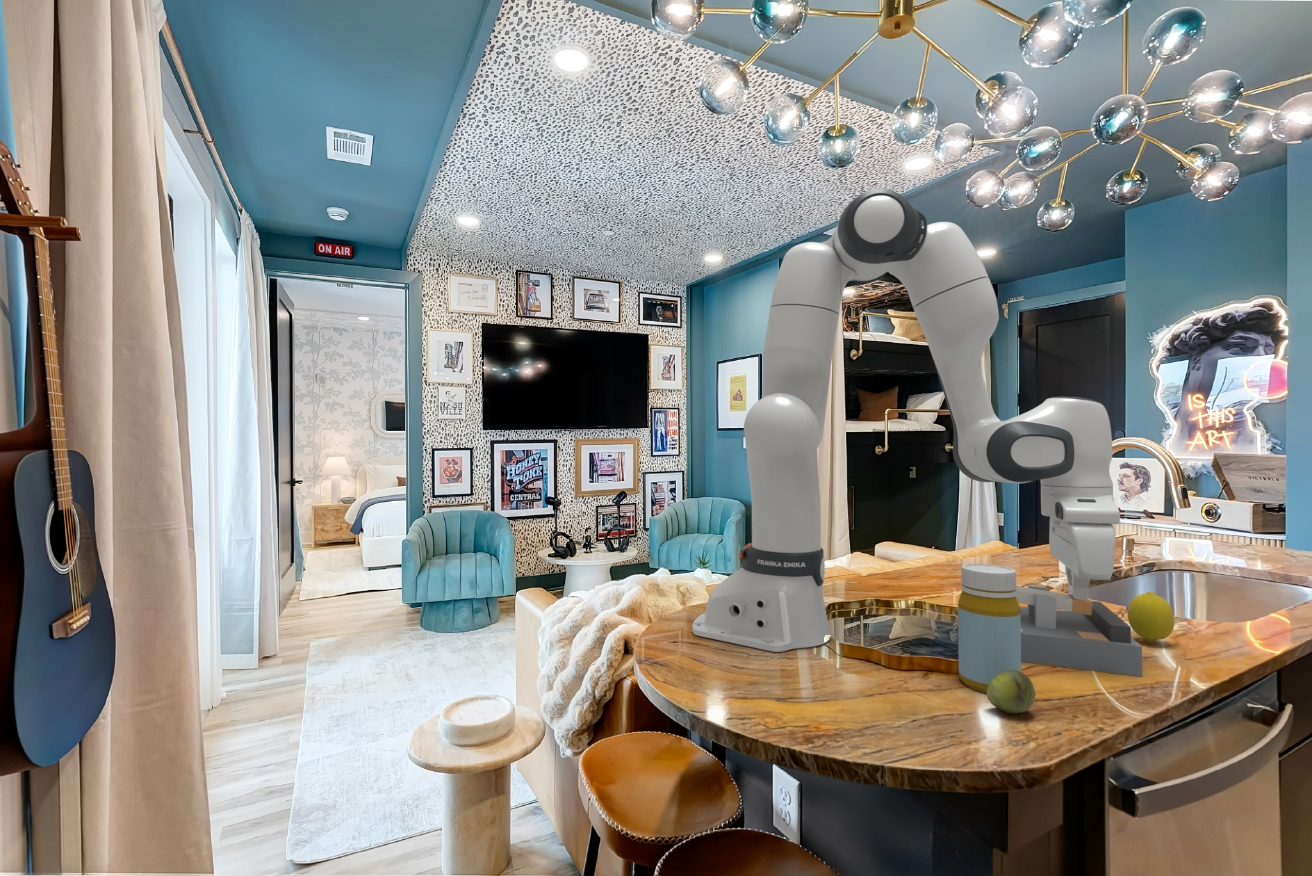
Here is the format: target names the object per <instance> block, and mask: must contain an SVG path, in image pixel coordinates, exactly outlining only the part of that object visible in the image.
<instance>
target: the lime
mask: <svg viewBox="0 0 1312 876" xmlns="http://www.w3.org/2000/svg"><path fill="white" fill-rule="evenodd" d="M985 694H986V696H987V700H988V701H989V703H990V704H992V706H994V707H995V708H997V709H999V710H1000V711H1002V712H1005V713H1007V714H1013V715H1014V714H1018V713H1019V714H1020V713H1026V712H1027V711H1028V710H1030V709H1031V708H1032V707H1033V705H1034V702H1035V699H1036V690H1035V688H1034V684H1033V682H1032V681H1031V678H1030V677H1029V676H1028V675H1027V674H1025V673H1023V672H1022V671H1021V672H1020V671H1017V670H1008V671H1003V672H1001V673H1000V674H998V675H997V676H995V677H994V678H993V679H992V680H991V681H990V683H989V685H988V687H987V690H986V693H985Z"/></svg>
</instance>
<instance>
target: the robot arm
mask: <svg viewBox="0 0 1312 876" xmlns="http://www.w3.org/2000/svg"><path fill="white" fill-rule="evenodd" d="M838 220H839V221H838V223H837V225H836V228H835V230H834V231H833V234H832V236H831V237H830V238H829V239H827V240H824V241H820V242H815V241H806V242H803V243H799V244H797V245H794V246H792V247H791V248H789V249H788V251H786V253H785V255H784V257H783V259H782V262H781V264H780V267H779V270H778V273H777V276H776V280H775V283H774V288H773V291H772V292H773V293H772V295H771V302H770V307H769V312H768V319H767V326H766V333H765V339H764V346H763V351H762V367H763V368H762V391H761V393H762V394H761V399H759V400H757V401H756V402H755V403H754V404H753V405H752V406H751V408H750V409H749V410H748V412H747V414H746V416H745V420H744V424H743V435H744V440H745V452H746V453H745V454H746V464H747V471H748V473H747V474H748V482H749V486H750V487H749V488H750V494H751V495H750V496H751V543H747V544H746V545H744V547H743V549H742V550H740V553H738V556H739V557H738V561H739V562H740V565H741V567H740V568H738V570H736V571H735V572H734V573H732V574H731V575H729V576H728V577H726V578H725V579H724V580H723V581H721V582H720V583H719V584H718V585H716V586H715V587H714V588H713V589H712V590H711V592H710V593H709V596H708V599H707V602H706V610H705V612H703V613H701V614H700V615H699V616H697V617H696V618H695V620H694V621H693V622H692V627H691V629H692V633H693V634H694V635H695V636H698V637H702V638H707V639H708V638H709V639H712V640H718V641H722V642H727V643H732V644H736V645H740V646H745V647H750V648H755V649H760V650H764V651H768V652H774V653H775V652H776V653H780V652H785V651H789V650H792V649H793V650H794V649H801V648H812V647H817V646H821V645H824V644H826V643H825V642H824V637H825V635H832V631H831V629H830V624H829V621H828V616H827V611H826V605H825V597H824V589H823V584H824V581H825V569H826V568H825V566H826V565H825V556H824V549H823V547H822V545H821V544H822V543H821V541H822V540H821V538H822V535H821V533H822V531H821V527H822V526H821V520H822V519H821V518H822V516H821V512H822V511H821V495H820V494H821V493H820V481H819V478H820V477H819V458H818V448H819V446H820V444H821V442H822V439H823V434H824V429H825V421H826V412H827V406H828V395H829V387H830V378H831V369H832V368H831V367H832V360H833V354H834V349H835V342H836V335H837V328H838V323H839V317H840V310H841V302H842V297H843V294H844V291H845V288H851V287H855V286H864V285H867V284H872V283H874V282H876V281H878V280H880V279H882V278H883V277H884V276H886V275H887V274H888V273H889V274H890V275H892V276H893V277H895V278H896V279H898V280H899V281H900V283H901V284H902V285H903V287H904V288H905V290H906V291H907V293H908V294H907V295H908V297H909V300H910V302H911V305H912V309H913V311H914V314H915V316H916V319H917V322H918V323H919V325H920V329H921V331H922V333H923V336H924V338H925V340H926V343H927V345H928V348H929V351H930V353H931V357H932V359H933V361H934V365H935V368H936V373H937V375H938V380H939V382H940V385H941V389H942V393H943V396H944V400H945V401H946V405H947V407H948V411H949V414H950V417H951V421H952V427H953V441H952V455H953V460H954V463H955V466H956V467H957V468H958V470H960V472H961V473H962V474H964V475H965V476H966V477H967V478H969V479H971V480H974V481H975V482H979V483H1003V484H1004V483H1006V484H1009V483H1010V484H1026V483H1031V482H1035V481H1040V507H1041V508H1040V509H1041V510H1040V512H1041V515H1042V516H1043V517H1044V516H1045V517H1049V536H1048V537H1049V538H1048V539H1049V540H1048V542H1049V545H1048V546H1049V553H1050V555H1051V556H1052V557H1054V558H1055V559H1056V560H1058V561H1059V562H1060V563H1061V564H1063V565H1064V568H1065V569H1064V571H1065V574H1066V579H1067V587H1068V594H1070V595H1071V596H1072V597H1073V598H1075V599H1077V600H1086V599H1087V598H1088V599H1089V590H1088V588H1089V586H1090V583H1091V580H1097V581H1099V580H1100V581H1109V580H1110V579H1111V578H1112V575H1113V572H1114V567H1115V556H1116V555H1115V554H1116V553H1115V552H1116V529H1115V526H1114V525H1119V524H1120V523H1121V513H1120V510H1119V508H1118V506H1117V505H1116V503H1115V497H1114V482H1113V480H1112V478H1111V473H1110V465H1111V462H1112V460H1113V439H1112V428H1111V422H1110V417H1109V415H1108V412H1107V409H1106V407H1105V405H1103V404H1102V403H1100V402H1098V401H1096V400H1094V399H1091V398H1086V397H1080V396H1051V397H1049V398H1046V399H1045V400H1044V401H1043V402H1042V403H1041V404H1039V405H1038V406H1036V407H1034V408H1033V409H1030V410H1029V411H1027V412H1024V413H1022V414H1019V415H1016V416H1014V417H1011V418H1009V419H1006V420H1001V419H1000V418H999V417H998V416H997V415H996V414H995V411H994V409H993V405H992V402H991V399H990V396H989V391H988V389H987V385H986V383H985V379H984V376H983V373H982V371H983V370H982V358H983V354H984V351H985V349H986V346H987V344H988V343H989V341H990V339H991V337H992V336H993V334H994V332H995V331H996V329H997V326H998V322H999V320H1000V316H999V315H1000V314H999V307H998V300H997V296H996V293H995V290H994V288H993V287H994V286H993V284H992V283H991V279H990V277H989V275H988V273H987V271H986V268H985V265H984V263H983V262H982V258H980V256H979V254H978V252H977V249H975V247H974V245H973V243H972V242H971V240H970V239H969V237H968V236H967V234H966V233H965V232H964V230H963V229H962V228H961V226H959V225H957V224H956V223H954V222H950V221H938V222H934V223H933V222H932V223H930V224H928V220H927V218H926V216H925V215H924V214H923V213H922V212H920V211H919V210H918V209H916V208H915V207H913V205H912V204H910V202H909V201H908V200H907V199H906V198H905V197H904V196H902V195H901V194H900V193H898V192H897V191H895V190H891V189H889V188H874V189H869V190H867V191H864V192H862V193H861V194H859V195H857V196H856V197H855V198H853V199H852V200H851V201H850V203H848V204H847V206H846V207H845V208H844V210H843V211H842V213H841V215H840V217H839V219H838ZM922 222H923V225H922ZM832 636H833V635H832Z"/></svg>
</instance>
